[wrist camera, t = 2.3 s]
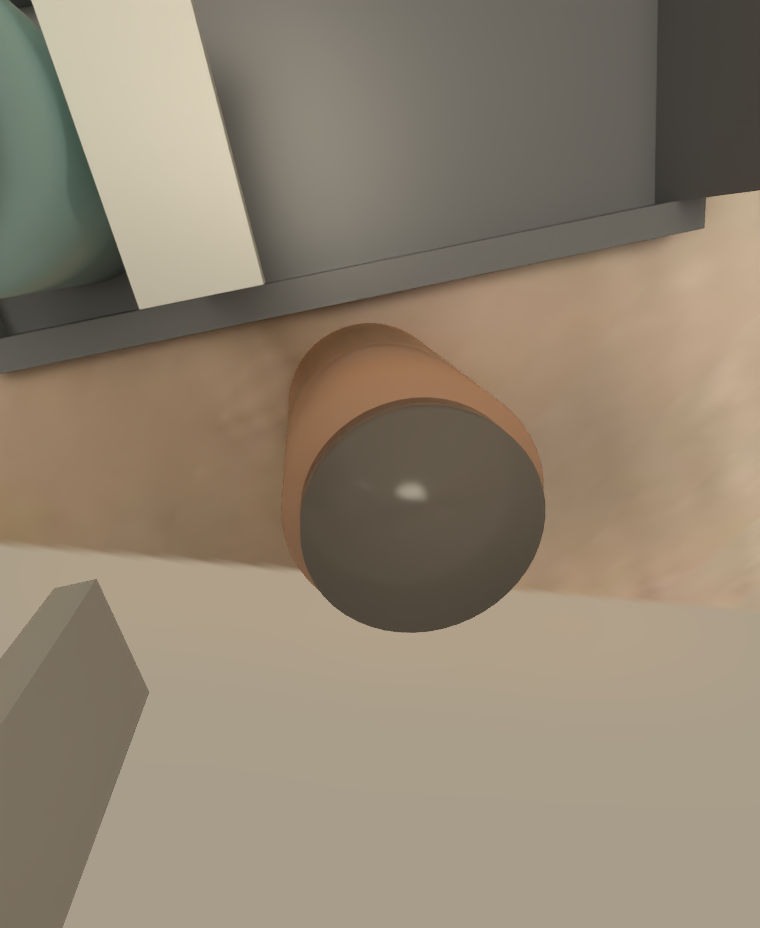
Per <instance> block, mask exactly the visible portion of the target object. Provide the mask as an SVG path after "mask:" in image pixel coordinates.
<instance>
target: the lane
mask: <svg viewBox="0 0 760 928" xmlns="http://www.w3.org/2000/svg"><path fill="white" fill-rule="evenodd" d="M9 1H10V2H11V3H13V4H14V5H15V6H16V7H17V8H18V9H20V10H21V11H22V12H23V13H24V14H25V15H27V16H28V17H29V18H30V19H31V20H32V21H34V22H35V23H36V24H37V25H38V26H39V27H40V24H39V21H38V18H37V15H36V13H35V10H34V7H33V4H32V1H31V0H9ZM193 1H194V4H195V8H196V12H197V16H198V20H199V24H200V28H201V32H202V36H203V40H204V44H205V48H206V51H207V55H208V59H209V63H210V67H211V71H212V75H213V79H214V83H215V87H216V91H217V95H218V98H219V102H220V106H221V110H222V114H223V118H224V122H225V126H226V130H227V134H228V138H229V142H230V146H231V149H232V153H233V157H234V161H235V165H236V169H237V173H238V177H239V181H240V185H241V189H242V193H243V196H244V200H245V204H246V208H247V212H248V216H249V220H250V224H251V228H252V232H253V236H254V240H255V243H256V247H257V251H258V255H259V259H260V263H261V267H262V271H263V275H264V279H265V284H263V285H259V286H254V287H249V288H244V289H239V290H234V291H229V292H224V293H219V294H214V295H209V296H204V297H200V298H195V299H190V300H185V301H180V302H175V303H170V304H165V305H160V306H155V307H150V308H145V309H141V310H139V307H138V304H137V301H136V298H135V295H134V293H133V290H132V287H131V284H130V281H129V278H128V275H127V273H126V271H125V272H124V273H122V274H120V275H118V276H116V277H114V278H112V279H109V280H106V281H102V282H99V283H94V284H88V285H82V286H75V287H69V288H63V289H57V290H50V291H44V292H38V293H32V294H25V295H19V296H13V297H7V298H0V374H3V373H7V372H12V371H17V370H22V369H27V368H32V367H36V366H41V365H46V364H51V363H56V362H60V361H65V360H70V359H75V358H80V357H85V356H89V355H94V354H99V353H104V352H109V351H114V350H118V349H123V348H128V347H133V346H138V345H143V344H147V343H152V342H157V341H162V340H167V339H171V338H176V337H181V336H186V335H191V334H196V333H200V332H205V331H210V330H215V329H220V328H225V327H229V326H234V325H239V324H244V323H249V322H254V321H258V320H263V319H268V318H273V317H278V316H282V315H287V314H292V313H297V312H302V311H307V310H311V309H316V308H321V307H326V306H331V305H336V304H340V303H345V302H350V301H355V300H360V299H365V298H369V297H374V296H379V295H384V294H389V293H394V292H398V291H403V290H408V289H413V288H418V287H422V286H427V285H432V284H437V283H442V282H447V281H451V280H456V279H461V278H466V277H471V276H476V275H480V274H485V273H490V272H495V271H500V270H505V269H509V268H514V267H519V266H524V265H529V264H533V263H538V262H543V261H548V260H553V259H558V258H562V257H567V256H572V255H577V254H582V253H587V252H591V251H596V250H601V249H606V248H611V247H616V246H620V245H625V244H630V243H635V242H640V241H644V240H649V239H654V238H659V237H664V236H669V235H673V234H678V233H683V232H688V231H693V230H698V229H702V228H704V225H705V205H706V197H711V196H719V195H727V194H734V193H742V192H749V191H757V190H760V0H193Z"/></svg>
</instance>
